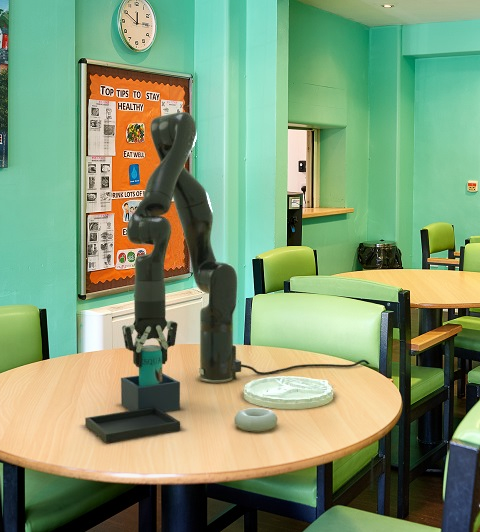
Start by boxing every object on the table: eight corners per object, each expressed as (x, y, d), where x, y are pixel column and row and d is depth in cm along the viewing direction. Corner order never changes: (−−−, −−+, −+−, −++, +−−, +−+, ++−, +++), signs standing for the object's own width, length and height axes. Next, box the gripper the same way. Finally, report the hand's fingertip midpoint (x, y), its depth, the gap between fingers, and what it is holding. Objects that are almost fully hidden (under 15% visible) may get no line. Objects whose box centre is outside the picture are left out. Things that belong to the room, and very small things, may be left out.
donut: (275, 420, 194) (233, 420, 193) (275, 406, 193) (233, 405, 192) (279, 433, 184) (234, 433, 183) (279, 419, 183) (235, 418, 182)
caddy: (161, 398, 210) (161, 372, 209) (180, 409, 201) (180, 382, 200) (121, 405, 204) (120, 377, 203) (138, 416, 195) (138, 388, 194)
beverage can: (158, 410, 199) (157, 350, 197) (135, 409, 200) (135, 349, 198) (165, 403, 205) (165, 345, 203) (144, 402, 206) (143, 344, 204)
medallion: (224, 396, 213) (224, 387, 213) (293, 377, 233) (293, 369, 232) (292, 415, 197) (292, 405, 197) (359, 393, 217) (359, 384, 217)
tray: (156, 414, 196) (156, 406, 196) (180, 430, 185) (180, 421, 185) (85, 426, 187) (85, 417, 187) (106, 443, 176) (106, 434, 175)
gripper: (128, 302, 192) (129, 372, 194) (183, 297, 200) (183, 364, 202) (116, 297, 198) (117, 365, 200) (170, 293, 206) (170, 358, 208)
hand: (150, 364), depth 201 cm, fingers closed on beverage can, 5 cm apart
